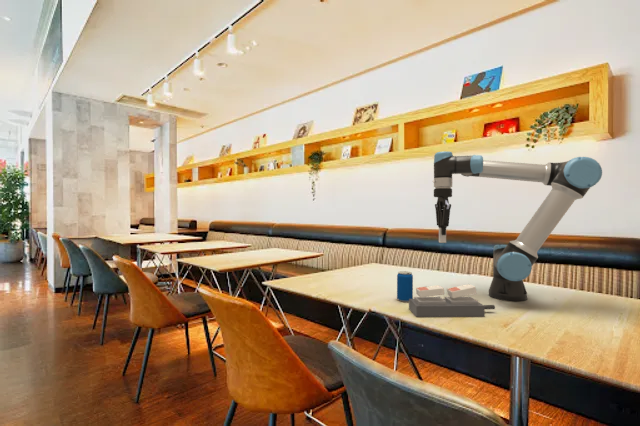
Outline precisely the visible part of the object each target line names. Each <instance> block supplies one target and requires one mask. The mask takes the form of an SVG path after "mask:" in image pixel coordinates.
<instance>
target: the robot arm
mask: <svg viewBox="0 0 640 426" xmlns="http://www.w3.org/2000/svg"><path fill="white" fill-rule="evenodd" d="M433 156H434V157H433V180H432V182H433V198H437V199H436V200H437V201H436V204H434V207H435V219H436V226H437V227H438V243H440V244H444V243H445V244H447V228H448V227H449V223H450V214H451V209H452V204H451V203H450V202H449V198H452V197H453V189H452V188H453V175H461V176H463V177H475V178H477V177H479V178H488V179H499V180H509V181H510V180H512V181H523V182H531V183H532V182H533V183H541V184H543V185H544V186H549V187H550V186H551V191H549V192H548V195H547V196H546V197H545V199H544V200H543V201H542V202H541V204H540V205H539V207H538V208H537V209H536V211H535V212H534V214H533V215H532V217H531V218H530V219H529V221H528V222H527V223H526V225H525V226H524V228H523V229H522V231H521V232H520V233H519V235H518V236H517V238H516V239H515V240H514V239H513V240H510V241H509V242H508V243H507V244H495V245H494V246H493V250H492V253H493V259H492V260H493V261H492V262H493V263H492V264H493V265H492V267H493V268H492V269H493V270H492V271H493V273H492V274H493V275H492V280H491V283H490V286H489V288H488V296H489V297H490V298H493V299H497V300H503V301H510V302H523V301H526V300H528V292H527V289H526V287H525V282H524V280H526V279H527V278H528V277H529V276H530V275H531V272H532V269H533V266H534V264H535V263H536V261H537V260H538V258H539V256H538V251H539V250H540V249H541V248H542V246H543V245H544V243H545V242H546V240H547V239H548V238H549V236H551V234H552V233H553V231H554V230H555V228H556V227H557V226H558V224H559V222H560V221H561V220H562V219H563V217H564V216H565V215H566V213H567V212H568V210H570V208H571V207H572V205H573V204H574V202H575V201H577V200H581V199H583V198H584V197H585V196H586V194H587V193H588V191H589V190H590V189H591V188H592V187H594V186H596V185H597V184H598V183H599V182H600V180H601V178H602V176H603V168H602V167H601V164H600V162H598V161H597V160H596V159H594V158H592V157H588V156H576V157H574V158H571V159H569V160H567V161H562V162H561V161H560V162H547V163H545V164H541V163H540V164H538V163H525V162H515V161H514V162H512V161H499V160H497V161H496V160H485V159H484V157H483V155H478V154H473V155H461V156H460V155H458V156H457V155H453V152H452V151H446V150H445V151H438V152H436V153H434V155H433Z"/></svg>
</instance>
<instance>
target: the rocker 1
mask: <svg viewBox="0 0 640 426" xmlns="http://www.w3.org/2000/svg"><path fill="white" fill-rule="evenodd" d="M415 293H416V294H415V295H416V296H417V297H438V296H445V288H444V287H442V286H441V285H438V284H437V285H430V286H420V287H415Z"/></svg>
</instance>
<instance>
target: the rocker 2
mask: <svg viewBox="0 0 640 426" xmlns="http://www.w3.org/2000/svg"><path fill="white" fill-rule="evenodd" d="M446 293H447V296H448V297H452V298H457V297H468V296H471V295H475V294H477V289H476V286H474V285H472V284H470V283H468V284H463V285H457V286H454V287H449V288H446Z"/></svg>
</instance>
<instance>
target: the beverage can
mask: <svg viewBox="0 0 640 426" xmlns="http://www.w3.org/2000/svg"><path fill="white" fill-rule="evenodd" d="M413 280H414V275H413V273H412V272H411V271H406V270H405V271H404V270H402V271H398V272H397V275H396V299H397V300H398V301H399V302H401V303H402V302H403V303H409V299H414V297H413V296H414V295H413V293H414V292H413V291H414V290H413V289H414V288H413V287H414V283H413V282H414V281H413Z"/></svg>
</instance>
